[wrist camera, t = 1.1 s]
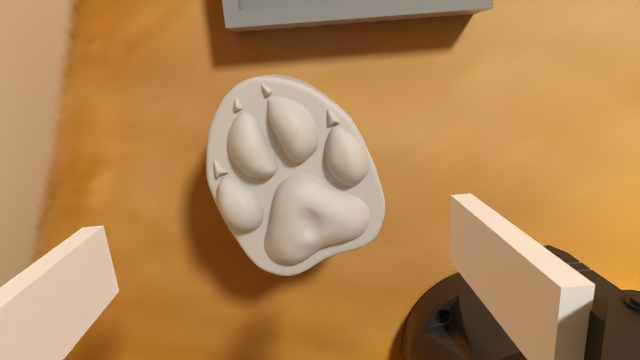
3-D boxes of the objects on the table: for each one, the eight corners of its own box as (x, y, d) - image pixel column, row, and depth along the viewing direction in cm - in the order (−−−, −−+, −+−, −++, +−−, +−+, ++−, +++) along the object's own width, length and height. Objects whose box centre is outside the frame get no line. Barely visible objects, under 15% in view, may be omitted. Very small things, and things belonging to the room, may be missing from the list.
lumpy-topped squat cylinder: (269, 246, 34) (259, 304, 26) (195, 106, 31) (156, 120, 22) (381, 197, 33) (408, 240, 25) (318, 49, 30) (325, 40, 22)
